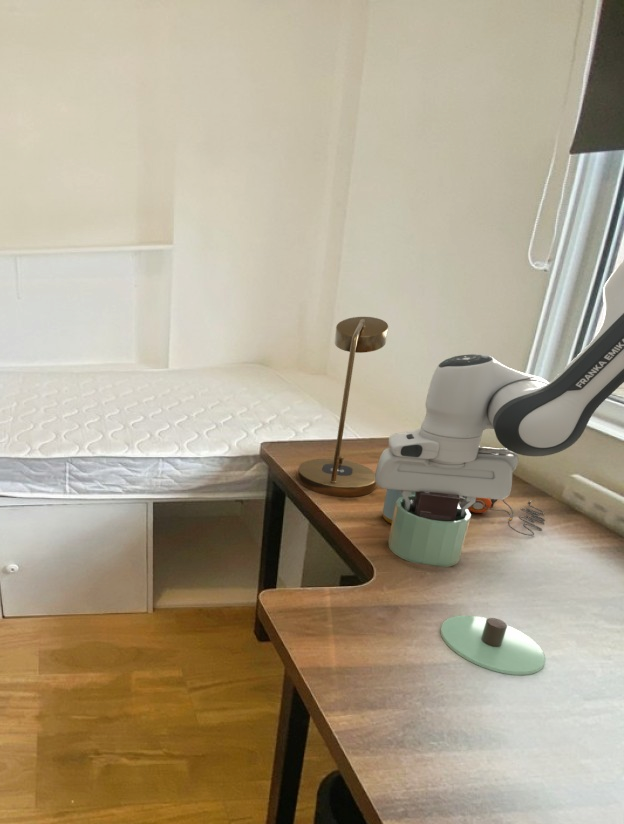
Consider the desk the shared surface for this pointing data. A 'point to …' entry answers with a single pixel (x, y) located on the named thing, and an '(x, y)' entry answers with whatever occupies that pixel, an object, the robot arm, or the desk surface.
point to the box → (436, 506)
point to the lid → (493, 645)
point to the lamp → (337, 472)
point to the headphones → (486, 504)
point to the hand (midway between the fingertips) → (432, 512)
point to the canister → (427, 537)
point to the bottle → (391, 503)
